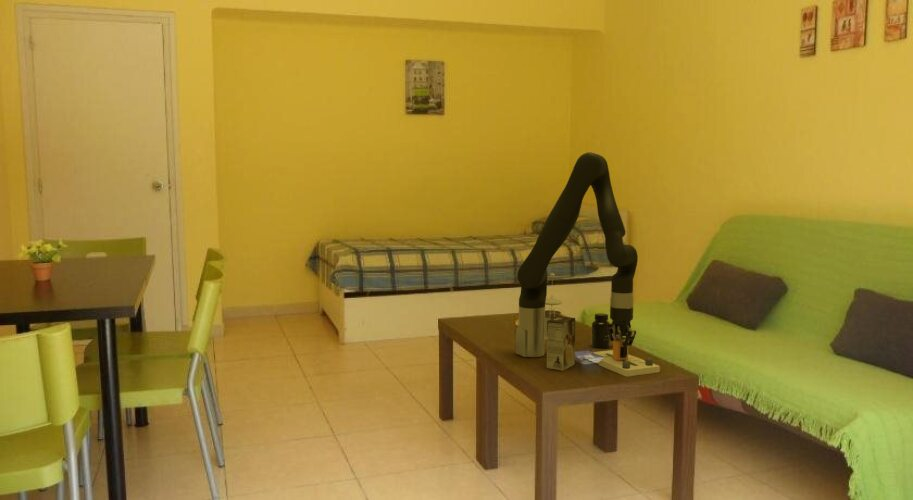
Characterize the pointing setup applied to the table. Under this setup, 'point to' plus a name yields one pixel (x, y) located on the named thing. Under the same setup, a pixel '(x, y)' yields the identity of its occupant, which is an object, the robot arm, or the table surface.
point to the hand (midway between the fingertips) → (620, 356)
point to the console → (628, 364)
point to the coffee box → (560, 343)
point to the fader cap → (618, 350)
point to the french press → (549, 313)
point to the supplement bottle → (600, 331)
